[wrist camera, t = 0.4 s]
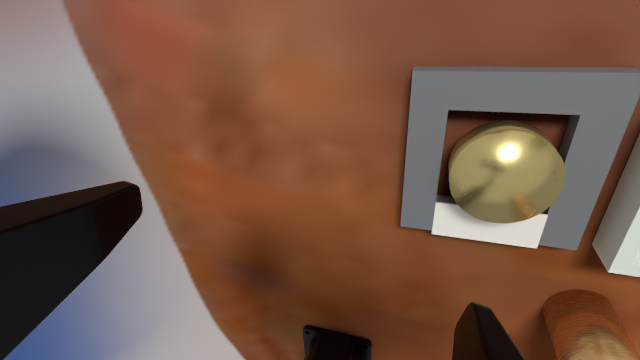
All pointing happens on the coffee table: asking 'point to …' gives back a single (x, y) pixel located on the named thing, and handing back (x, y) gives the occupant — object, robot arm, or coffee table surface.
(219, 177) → the coffee table surface
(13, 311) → the robot arm
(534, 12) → the coffee table surface
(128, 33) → the coffee table surface
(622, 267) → the trough
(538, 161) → the brass plunger
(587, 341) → the copper cell
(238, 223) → the coffee table surface
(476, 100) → the grey square tray
